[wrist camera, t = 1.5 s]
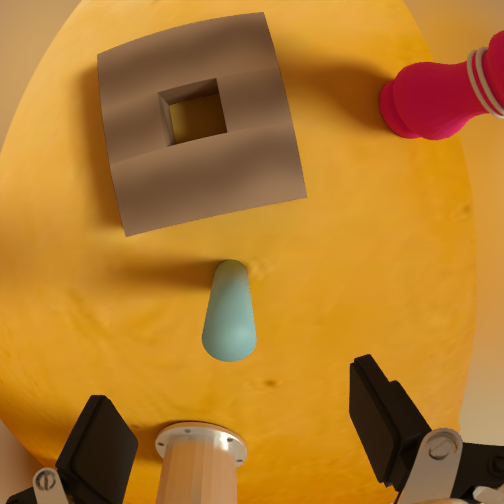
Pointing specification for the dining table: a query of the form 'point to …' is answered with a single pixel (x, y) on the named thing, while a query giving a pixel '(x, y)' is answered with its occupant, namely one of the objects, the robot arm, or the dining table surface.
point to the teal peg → (229, 314)
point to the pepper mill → (445, 94)
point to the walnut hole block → (205, 149)
